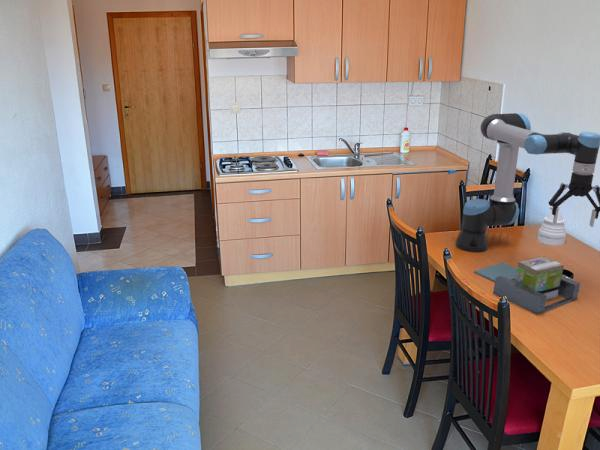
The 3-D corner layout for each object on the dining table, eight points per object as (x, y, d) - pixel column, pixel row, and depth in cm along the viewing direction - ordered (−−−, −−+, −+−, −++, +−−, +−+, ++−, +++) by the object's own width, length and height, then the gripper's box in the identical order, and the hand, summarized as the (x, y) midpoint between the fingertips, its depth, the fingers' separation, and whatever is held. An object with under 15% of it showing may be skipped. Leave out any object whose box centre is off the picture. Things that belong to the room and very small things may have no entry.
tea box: (532, 305, 207) (538, 270, 202) (511, 294, 215) (517, 261, 211) (558, 297, 214) (564, 263, 209) (537, 287, 222) (543, 254, 217)
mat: (473, 272, 235) (474, 271, 235) (502, 263, 245) (502, 262, 244) (500, 284, 224) (500, 283, 224) (528, 275, 234) (529, 273, 233)
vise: (493, 293, 216) (495, 277, 214) (541, 276, 232) (544, 261, 230) (537, 314, 200) (541, 297, 198) (586, 295, 216) (590, 279, 214)
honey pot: (535, 242, 272) (540, 208, 266) (539, 234, 282) (545, 202, 276) (562, 247, 265) (569, 213, 259) (565, 239, 276) (572, 206, 270)
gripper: (550, 172, 207) (541, 224, 214) (621, 177, 201) (609, 230, 208) (546, 168, 214) (538, 218, 221) (615, 172, 208) (604, 224, 215)
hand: (572, 224), depth 214 cm, fingers open, 13 cm apart
